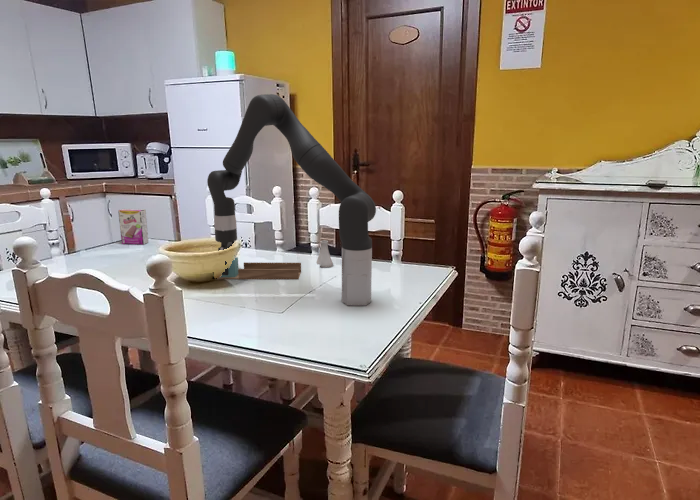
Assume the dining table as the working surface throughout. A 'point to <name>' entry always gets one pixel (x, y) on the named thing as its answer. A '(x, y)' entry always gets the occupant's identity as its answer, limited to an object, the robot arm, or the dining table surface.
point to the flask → (324, 255)
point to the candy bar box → (133, 226)
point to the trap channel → (268, 271)
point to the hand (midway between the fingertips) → (228, 271)
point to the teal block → (233, 269)
